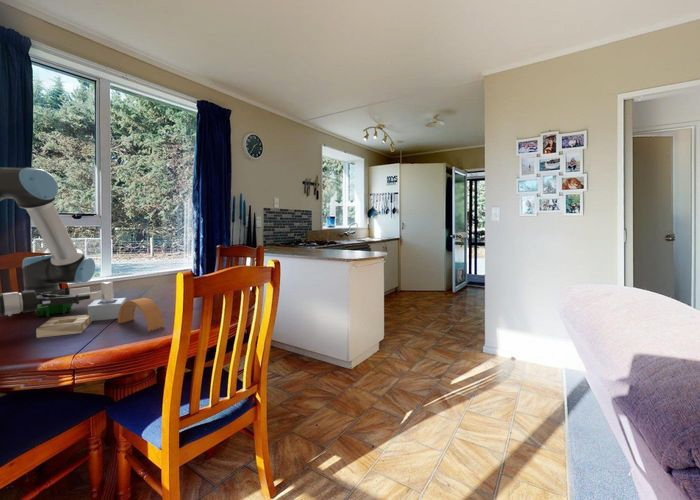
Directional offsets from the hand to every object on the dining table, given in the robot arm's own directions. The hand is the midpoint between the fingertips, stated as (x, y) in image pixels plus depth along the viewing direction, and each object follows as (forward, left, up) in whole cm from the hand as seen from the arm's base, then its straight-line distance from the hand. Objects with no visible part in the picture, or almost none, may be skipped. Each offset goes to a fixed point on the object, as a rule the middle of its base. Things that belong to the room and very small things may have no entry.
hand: (94, 292), depth 134 cm
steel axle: (-2, +4, -11) cm, 11 cm away
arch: (+17, +17, -11) cm, 26 cm away
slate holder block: (-2, +4, -11) cm, 11 cm away
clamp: (-13, -17, -11) cm, 24 cm away
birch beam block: (+12, -6, -11) cm, 17 cm away
